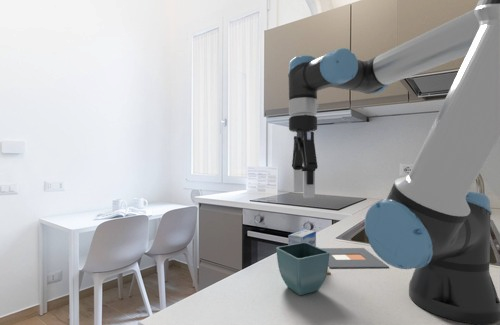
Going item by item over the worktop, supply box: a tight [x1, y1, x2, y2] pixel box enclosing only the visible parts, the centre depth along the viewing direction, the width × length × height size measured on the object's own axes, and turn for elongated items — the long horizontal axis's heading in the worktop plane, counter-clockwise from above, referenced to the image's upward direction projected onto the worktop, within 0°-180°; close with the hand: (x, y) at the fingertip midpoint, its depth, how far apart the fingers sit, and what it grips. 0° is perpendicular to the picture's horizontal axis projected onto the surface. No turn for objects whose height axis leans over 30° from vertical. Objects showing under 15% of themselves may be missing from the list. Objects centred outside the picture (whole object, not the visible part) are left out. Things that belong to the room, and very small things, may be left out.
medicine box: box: [287, 229, 317, 247], centre depth 78 cm, size 8×4×9 cm, turn 141°
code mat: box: [319, 247, 390, 269], centre depth 85 cm, size 16×16×1 cm
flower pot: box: [275, 242, 330, 296], centre depth 64 cm, size 9×9×9 cm
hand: (303, 194), depth 78 cm, fingers open, 13 cm apart
